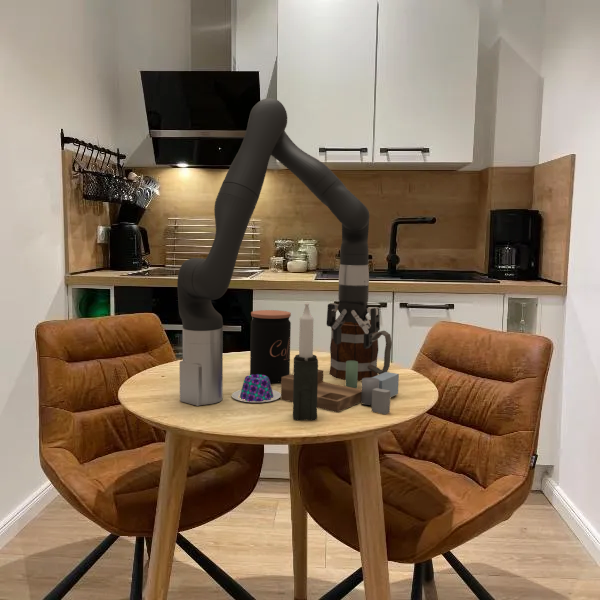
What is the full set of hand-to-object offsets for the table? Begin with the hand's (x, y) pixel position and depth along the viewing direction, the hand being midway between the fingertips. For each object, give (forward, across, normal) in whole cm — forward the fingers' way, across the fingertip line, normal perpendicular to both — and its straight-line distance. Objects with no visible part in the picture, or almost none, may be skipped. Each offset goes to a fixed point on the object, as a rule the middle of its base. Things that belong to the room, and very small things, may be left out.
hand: (352, 345), depth 151 cm
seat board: (+11, 0, -13) cm, 17 cm away
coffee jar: (+11, -22, -6) cm, 25 cm away
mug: (+11, -4, +12) cm, 17 cm away
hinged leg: (+11, +11, -5) cm, 16 cm away
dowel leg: (+11, 0, 0) cm, 11 cm away
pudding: (+11, -14, -21) cm, 28 cm away
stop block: (+11, +15, -13) cm, 23 cm away
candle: (+11, +4, -26) cm, 29 cm away
